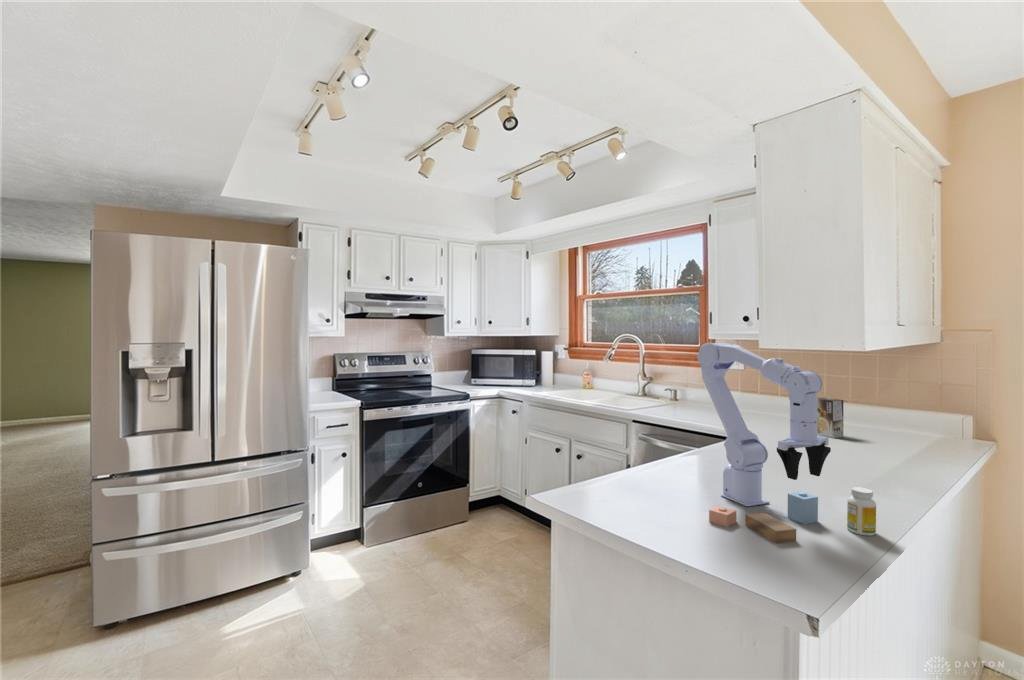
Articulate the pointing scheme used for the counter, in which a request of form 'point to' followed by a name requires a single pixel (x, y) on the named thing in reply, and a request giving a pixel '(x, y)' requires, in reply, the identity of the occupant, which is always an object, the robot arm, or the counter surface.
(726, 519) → the brick
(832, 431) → the coffee box
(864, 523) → the supplement bottle
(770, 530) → the base brick
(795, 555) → the counter surface
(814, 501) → the blue brick
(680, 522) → the counter surface
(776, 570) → the counter surface
